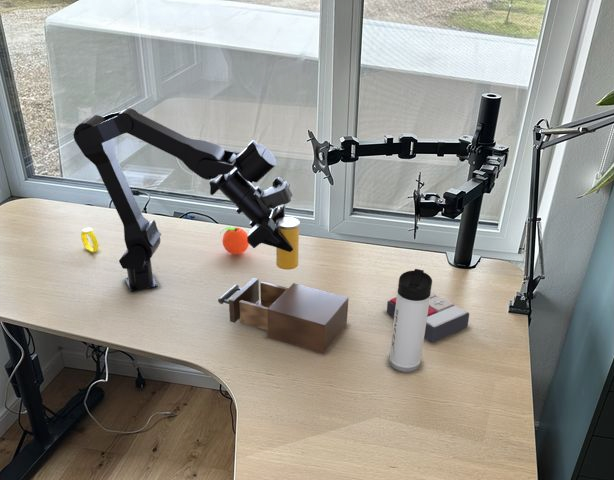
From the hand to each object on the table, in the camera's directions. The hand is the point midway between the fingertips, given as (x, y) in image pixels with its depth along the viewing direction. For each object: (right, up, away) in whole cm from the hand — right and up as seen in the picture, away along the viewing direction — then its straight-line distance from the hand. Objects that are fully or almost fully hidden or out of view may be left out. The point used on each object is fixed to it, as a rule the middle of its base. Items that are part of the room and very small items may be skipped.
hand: (293, 245), depth 147 cm
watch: (-53, +2, +24) cm, 58 cm away
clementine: (-16, +2, +25) cm, 30 cm away
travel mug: (+23, -26, -13) cm, 37 cm away
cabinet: (+3, -19, -4) cm, 20 cm away
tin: (-1, -4, +3) cm, 5 cm away
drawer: (-8, -15, -1) cm, 17 cm away
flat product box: (+30, -17, 0) cm, 34 cm away
